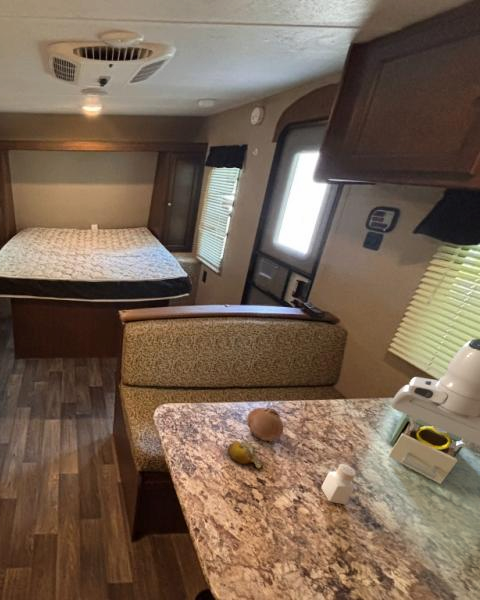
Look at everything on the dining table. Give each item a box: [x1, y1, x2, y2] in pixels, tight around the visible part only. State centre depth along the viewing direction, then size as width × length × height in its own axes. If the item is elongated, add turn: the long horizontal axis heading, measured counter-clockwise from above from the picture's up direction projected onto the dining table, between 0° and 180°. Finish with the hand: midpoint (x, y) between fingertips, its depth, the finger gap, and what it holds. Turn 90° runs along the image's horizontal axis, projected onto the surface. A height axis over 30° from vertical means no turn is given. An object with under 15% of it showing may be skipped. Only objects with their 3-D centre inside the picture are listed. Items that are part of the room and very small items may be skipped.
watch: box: [417, 426, 451, 450], centre depth 84 cm, size 6×3×6 cm, turn 41°
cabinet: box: [389, 413, 463, 458], centre depth 93 cm, size 15×12×10 cm
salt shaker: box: [321, 463, 357, 505], centre depth 76 cm, size 4×4×10 cm
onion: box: [246, 407, 284, 442], centre depth 94 cm, size 10×9×10 cm
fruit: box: [226, 441, 263, 470], centre depth 87 cm, size 8×8×4 cm
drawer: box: [388, 422, 459, 485], centre depth 86 cm, size 18×10×8 cm, turn 129°
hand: (431, 439), depth 84 cm, fingers closed on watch, 6 cm apart
